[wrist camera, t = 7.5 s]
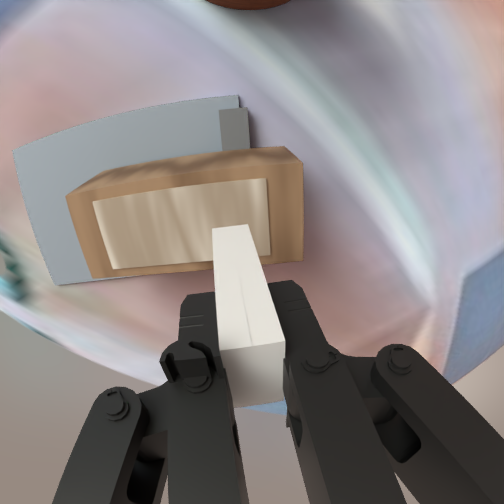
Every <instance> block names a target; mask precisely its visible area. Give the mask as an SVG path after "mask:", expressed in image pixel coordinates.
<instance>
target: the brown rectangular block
mask: <svg viewBox="0 0 504 504" xmlns="http://www.w3.org/2000/svg"><path fill="white" fill-rule="evenodd" d="M65 198H66V201H67V205H68V209H69V212H70V215H71V219H72V222H73V225H74V228H75V231H76V235H77V238H78V241H79V243H80V246H81V249H82V252H83V255H84V257H85V260H86V263H87V266H88V268H89V271H90V273H91V276H92V278H93V279H98V278H111V277H124V276H137V275H150V274H162V273H174V272H186V271H198V270H209V269H214V262H213V241H212V229H213V228H221V227H229V226H237V225H245V224H248V226H249V229H250V232H251V235H252V239H253V242H254V245H255V248H256V251H257V254H258V257H259V260H260V263H261V265H264V264H274V263H285V262H295V261H303V237H304V204H303V163H302V162H301V161H300V160H299V159H298V158H297V157H296V156H295V155H294V154H293V153H291V152H290V151H289V150H288V149H287V148H286V147H285V146H280V147H264V148H251V149H239V150H229V151H220V152H211V153H203V154H195V155H188V156H181V157H174V158H168V159H162V160H156V161H150V162H144V163H139V164H134V165H129V166H124V167H119V168H114V169H110V170H105V171H102V172H101V173H99V174H97V175H96V176H94V177H93V178H91V179H90V180H88V181H87V182H85V183H83V184H82V185H80V186H79V187H77V188H76V189H74V190H73V191H72V192H70V193H69V194H67V195H66V196H65Z"/></svg>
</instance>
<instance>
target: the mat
mask: <svg viewBox="0 0 504 504" xmlns="http://www.w3.org/2000/svg"><path fill="white" fill-rule="evenodd" d="M239 149H250V138H249V124H248V111H247V107H244V108H239V100H238V95H233V96H222V97H212V98H204V99H196V100H189V101H182V102H176V103H170V104H164V105H159V106H153V107H148V108H143V109H139V110H134V111H130V112H125V113H121V114H117V115H113V116H109V117H106V118H102V119H98V120H95V121H91V122H88V123H85V124H81V125H78V126H75V127H72V128H69V129H66V130H63V131H60V132H57V133H55V134H52V135H49V136H46V137H44V138H41V139H39V140H36V141H34V142H31V143H29V144H26V145H24V146H22V147H19V148H17V149H15V150H12V151H13V157H14V162H15V167H16V171H17V176H18V180H19V184H20V188H21V192H22V196H23V199H24V203H25V206H26V210H27V213H28V216H29V219H30V222H31V225H32V228H33V231H34V234H35V237H36V240H37V243H38V245H39V248H40V251H41V253H42V256H43V258H44V261H45V263H46V266H47V268H48V271H49V273H50V275H51V278H52V280H53V282H54V284H55V285H62V284H71V283H80V282H89V281H97V280H106V279H114V278H123V277H111V278H98V279H93V278H92V276H91V273H90V271H89V268H88V266H87V263H86V260H85V257H84V255H83V252H82V249H81V246H80V243H79V241H78V238H77V235H76V231H75V228H74V225H73V222H72V219H71V215H70V212H69V209H68V205H67V201H66V198H65V196H66V195H67V194H69V193H70V192H72V191H73V190H74V189H76V188H77V187H79V186H80V185H82V184H83V183H85V182H87V181H88V180H90V179H91V178H93V177H94V176H96V175H97V174H99V173H101V172H102V171H105V170H110V169H114V168H119V167H124V166H129V165H134V164H139V163H144V162H150V161H156V160H162V159H168V158H174V157H181V156H188V155H195V154H203V153H211V152H220V151H229V150H239ZM137 276H140V275H137ZM124 277H131V276H124Z"/></svg>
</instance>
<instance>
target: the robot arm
mask: <svg viewBox="0 0 504 504" xmlns="http://www.w3.org/2000/svg"><path fill="white" fill-rule="evenodd" d="M212 241H213V262H214V280H215V292H207V293H199V294H190V295H187V297H186V298H185V300H184V301H183V303H182V304H181V309H180V322H179V336H178V341H176V342H174V343H172V344H171V345H169V346H168V347H167V348H166V349H165V350H164V352H163V353H162V355H161V358H160V361H159V362H160V364H161V366H162V369H163V371H164V373H165V375H166V377H167V379H168V381H167V382H165V383H164V384H163V385H161V386H159V387H157V388H154V389H151V390H148V391H145V392H142V393H139V394H136V393H135V392H134V391H133V390H131V389H128V388H126V387H113V388H110V389H107V390H105V391H104V392H103V393H101V394H100V395H99V396H98V398H97V399H96V400H95V402H94V404H93V406H92V408H91V410H90V412H89V414H88V417H87V419H86V421H85V423H84V425H83V427H82V430H81V432H80V434H79V436H78V439H77V441H76V443H75V446H74V448H73V450H72V453H71V455H70V458H69V460H68V463H67V465H66V468H65V470H64V473H63V475H62V478H61V480H60V483H59V486H58V489H57V491H56V494H55V497H54V500H53V503H52V504H160V502H161V498H162V494H163V490H164V486H165V482H166V479H167V475H168V496H169V504H249V499H248V494H247V488H246V482H245V476H244V470H243V463H242V457H241V451H240V444H239V437H238V430H237V424H236V420H235V415H234V408H238V407H246V406H253V405H260V404H266V403H272V402H277V401H283V400H284V396H285V400H286V404H287V419H286V427H290V430H291V434H292V437H293V441H294V445H295V449H296V453H297V457H298V461H299V464H300V468H301V472H302V476H303V479H304V483H305V487H306V491H307V495H308V498H309V502H310V504H407V503H406V501H405V498H404V495H403V493H402V490H401V488H400V485H399V483H398V480H397V478H396V476H395V473H396V474H397V476H398V477H399V478H400V480H401V481H402V482H403V483H404V485H405V486H406V487H407V488H408V490H409V491H410V492H411V493H412V495H413V496H414V497H415V498H416V500H417V501H418V502H419V503H420V504H504V439H503V438H502V437H501V436H500V435H499V434H498V433H497V432H496V430H495V429H494V428H493V427H492V426H491V425H490V424H489V423H488V422H487V421H486V420H485V419H484V418H483V417H482V416H481V415H480V414H479V413H478V411H477V410H475V408H474V407H473V406H472V405H471V404H470V403H469V402H468V401H467V400H466V399H465V398H464V397H463V396H462V395H461V394H460V393H459V392H458V391H457V390H456V389H455V388H454V387H453V386H452V385H451V384H450V383H449V382H448V381H447V380H446V379H445V378H444V377H443V376H442V375H441V374H440V373H439V372H438V371H437V370H436V369H435V368H434V367H433V366H432V365H431V364H429V363H428V362H427V361H426V360H425V359H424V358H423V357H422V356H421V355H420V354H419V353H418V352H417V351H415V350H414V349H413V348H411V347H409V346H406V345H403V344H391V345H388V346H385V347H383V348H382V349H381V350H380V351H379V352H378V354H377V357H352V356H347V355H344V354H341V353H340V352H339V351H338V350H337V349H336V348H334V347H332V346H331V345H329V344H328V342H327V341H326V338H325V336H324V334H323V332H322V330H321V328H320V325H319V323H318V321H317V319H316V317H315V315H314V313H313V310H312V309H311V306H310V304H309V302H308V300H307V298H306V296H305V293H304V291H303V289H302V288H301V287H300V286H299V285H298V284H296V283H295V282H294V281H292V280H288V281H281V282H274V283H267V282H266V279H265V276H264V273H263V270H262V266H261V263H260V260H259V257H258V254H257V251H256V248H255V245H254V242H253V239H252V235H251V232H250V229H249V226H248V224H245V225H237V226H229V227H221V228H213V229H212ZM394 472H395V473H394Z"/></svg>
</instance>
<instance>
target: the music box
mask: <svg viewBox="0 0 504 504" xmlns="http://www.w3.org/2000/svg"><path fill="white" fill-rule="evenodd" d="M206 1H208V2H211V3H213V4H216V5H219V6H223V7H227V8H232V9H240V10H259V9H267V8H272V7H276V6H279V5H282V4H285V3H287V2H289V1H291V0H206Z"/></svg>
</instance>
